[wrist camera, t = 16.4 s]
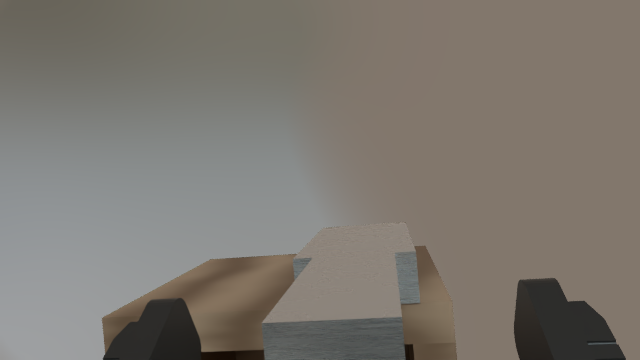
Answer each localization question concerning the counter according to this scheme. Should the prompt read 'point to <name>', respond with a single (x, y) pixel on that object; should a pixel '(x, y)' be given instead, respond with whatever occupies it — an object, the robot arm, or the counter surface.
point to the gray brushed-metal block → (346, 296)
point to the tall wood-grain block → (264, 293)
